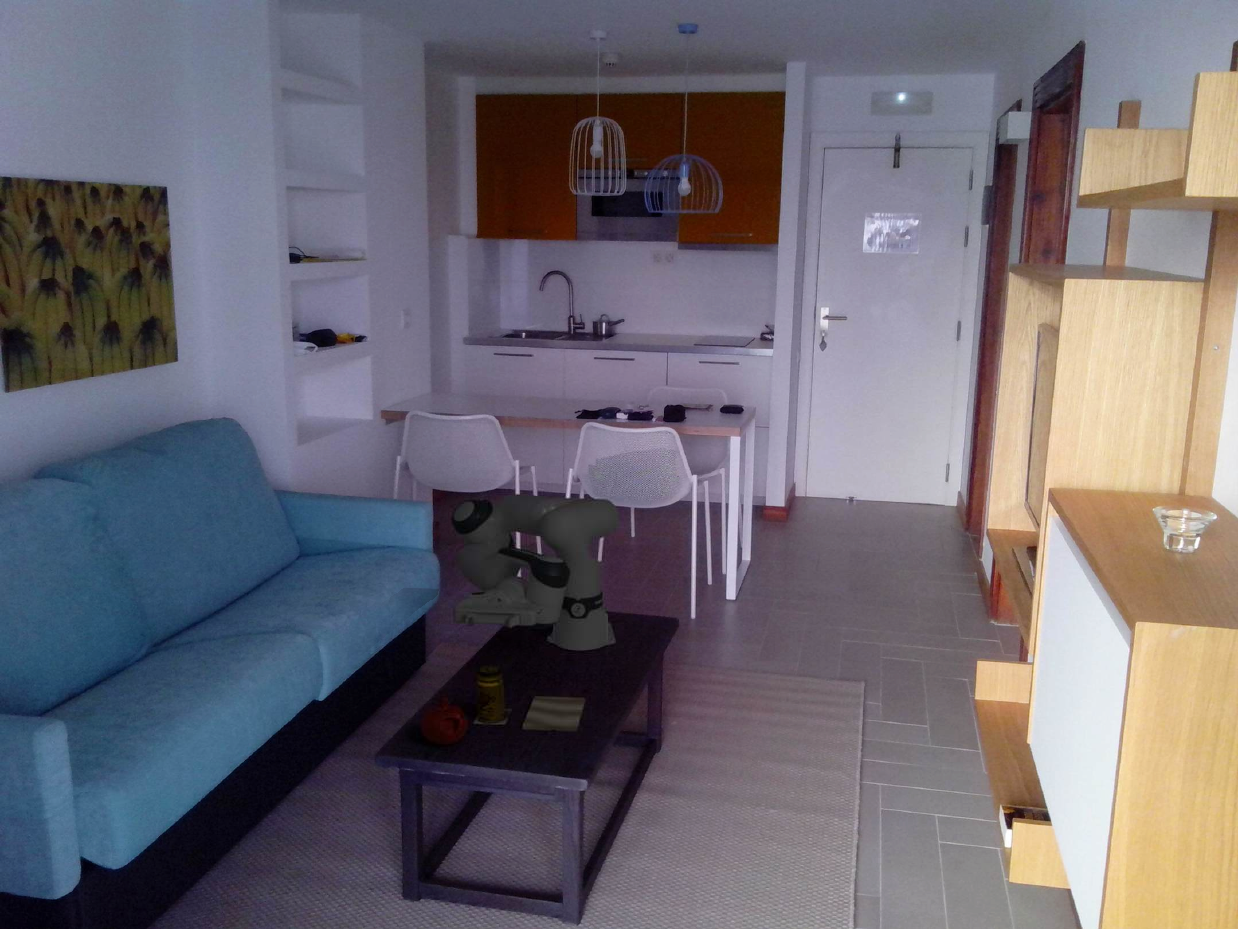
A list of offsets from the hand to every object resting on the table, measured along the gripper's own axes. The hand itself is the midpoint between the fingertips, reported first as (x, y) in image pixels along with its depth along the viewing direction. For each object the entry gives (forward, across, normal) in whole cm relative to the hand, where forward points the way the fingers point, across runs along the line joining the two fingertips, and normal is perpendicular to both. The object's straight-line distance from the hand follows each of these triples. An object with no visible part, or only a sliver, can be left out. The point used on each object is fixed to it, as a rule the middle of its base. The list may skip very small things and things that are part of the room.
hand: (488, 623), depth 246 cm
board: (+8, -17, -19) cm, 26 cm away
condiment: (+10, -3, -19) cm, 22 cm away
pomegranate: (+22, +4, -19) cm, 30 cm away
